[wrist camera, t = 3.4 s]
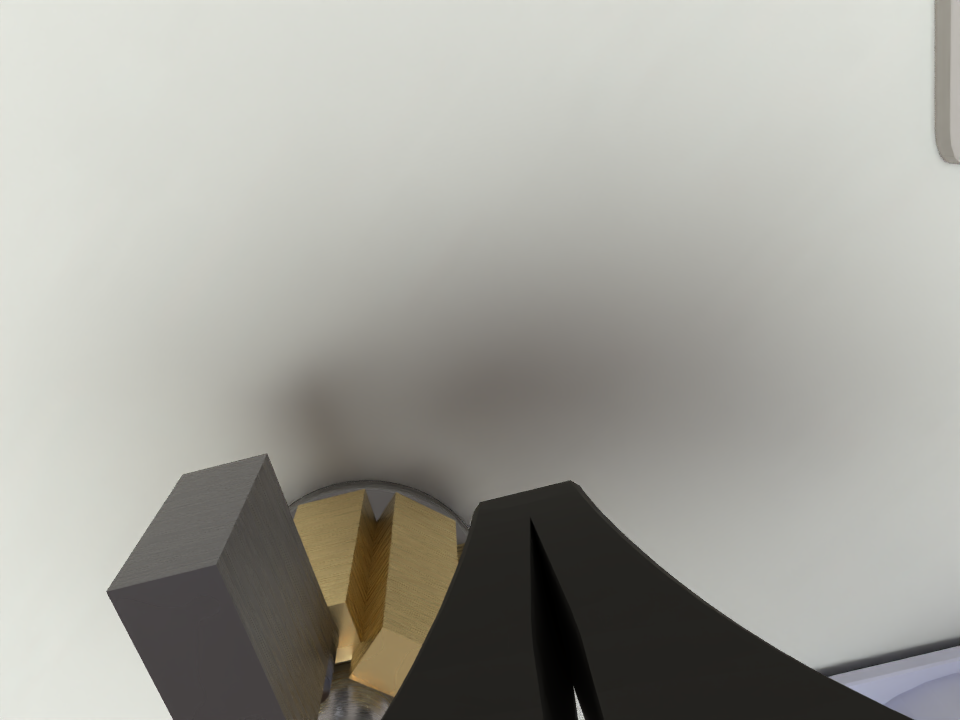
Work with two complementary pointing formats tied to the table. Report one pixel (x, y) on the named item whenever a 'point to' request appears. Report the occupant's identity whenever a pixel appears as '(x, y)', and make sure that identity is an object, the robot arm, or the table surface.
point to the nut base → (382, 501)
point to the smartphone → (947, 79)
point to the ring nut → (279, 593)
